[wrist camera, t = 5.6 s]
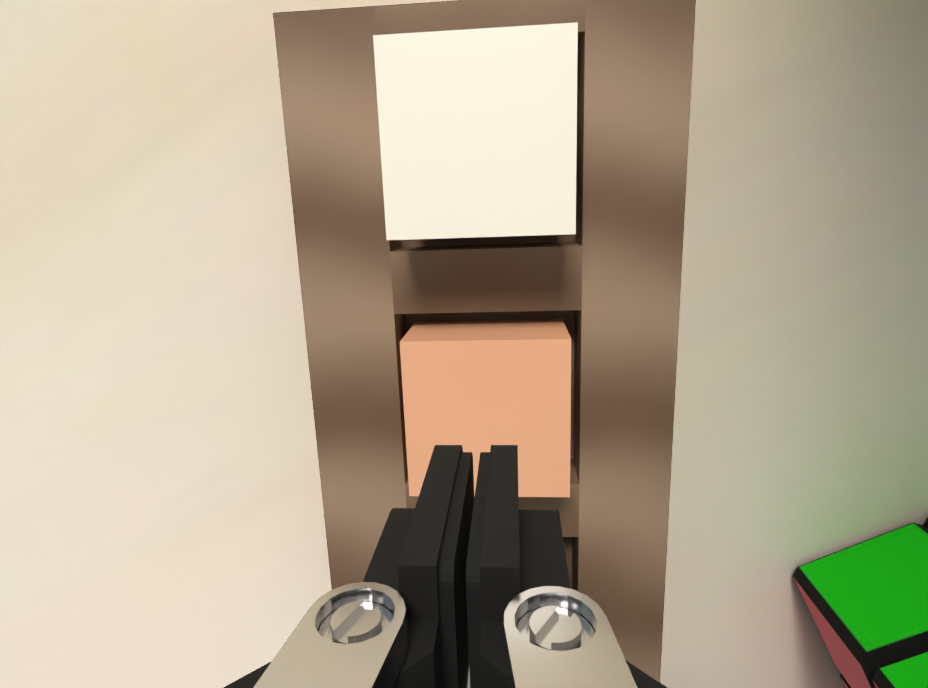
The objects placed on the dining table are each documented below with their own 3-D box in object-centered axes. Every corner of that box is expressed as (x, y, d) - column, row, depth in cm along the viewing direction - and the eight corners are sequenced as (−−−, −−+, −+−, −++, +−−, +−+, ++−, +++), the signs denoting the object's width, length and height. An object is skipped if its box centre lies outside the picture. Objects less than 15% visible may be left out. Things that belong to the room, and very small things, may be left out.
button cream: (396, 64, 17) (372, 35, 14) (566, 54, 17) (577, 22, 14) (406, 235, 18) (386, 240, 15) (564, 229, 18) (575, 234, 15)
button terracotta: (415, 321, 20) (399, 341, 17) (562, 318, 19) (571, 338, 16) (423, 455, 21) (409, 496, 18) (561, 456, 21) (569, 497, 18)
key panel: (303, 37, 19) (272, 12, 17) (671, 13, 18) (696, -16, 16) (359, 646, 25) (342, 694, 22) (643, 655, 24) (658, 706, 21)
